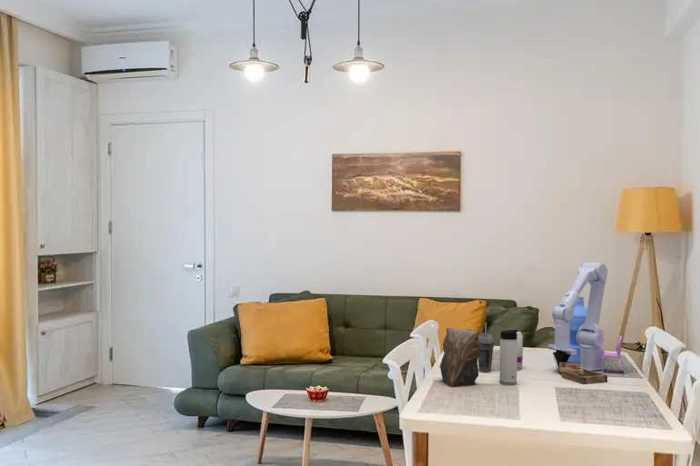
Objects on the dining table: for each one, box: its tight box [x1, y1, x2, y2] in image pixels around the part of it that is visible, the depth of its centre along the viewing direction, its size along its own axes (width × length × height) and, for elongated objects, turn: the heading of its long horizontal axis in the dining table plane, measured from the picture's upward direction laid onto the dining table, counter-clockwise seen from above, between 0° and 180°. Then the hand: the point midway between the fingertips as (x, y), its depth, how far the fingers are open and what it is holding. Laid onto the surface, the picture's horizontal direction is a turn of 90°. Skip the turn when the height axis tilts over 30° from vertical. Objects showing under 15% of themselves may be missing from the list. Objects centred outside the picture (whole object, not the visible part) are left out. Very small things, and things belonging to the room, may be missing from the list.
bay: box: [561, 369, 608, 385], centre depth 264 cm, size 11×12×2 cm
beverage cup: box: [477, 321, 496, 373], centre depth 277 cm, size 7×7×20 cm
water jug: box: [567, 296, 595, 364], centre depth 302 cm, size 16×16×28 cm
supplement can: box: [517, 331, 524, 371], centre depth 284 cm, size 8×8×15 cm
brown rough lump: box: [439, 327, 480, 388], centre depth 256 cm, size 13×13×20 cm
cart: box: [558, 362, 583, 376], centre depth 270 cm, size 5×8×5 cm, turn 23°
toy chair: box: [601, 335, 626, 375], centre depth 278 cm, size 8×9×15 cm
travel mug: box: [499, 329, 519, 386], centre depth 256 cm, size 6×7×20 cm
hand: (561, 370), depth 275 cm, fingers closed
